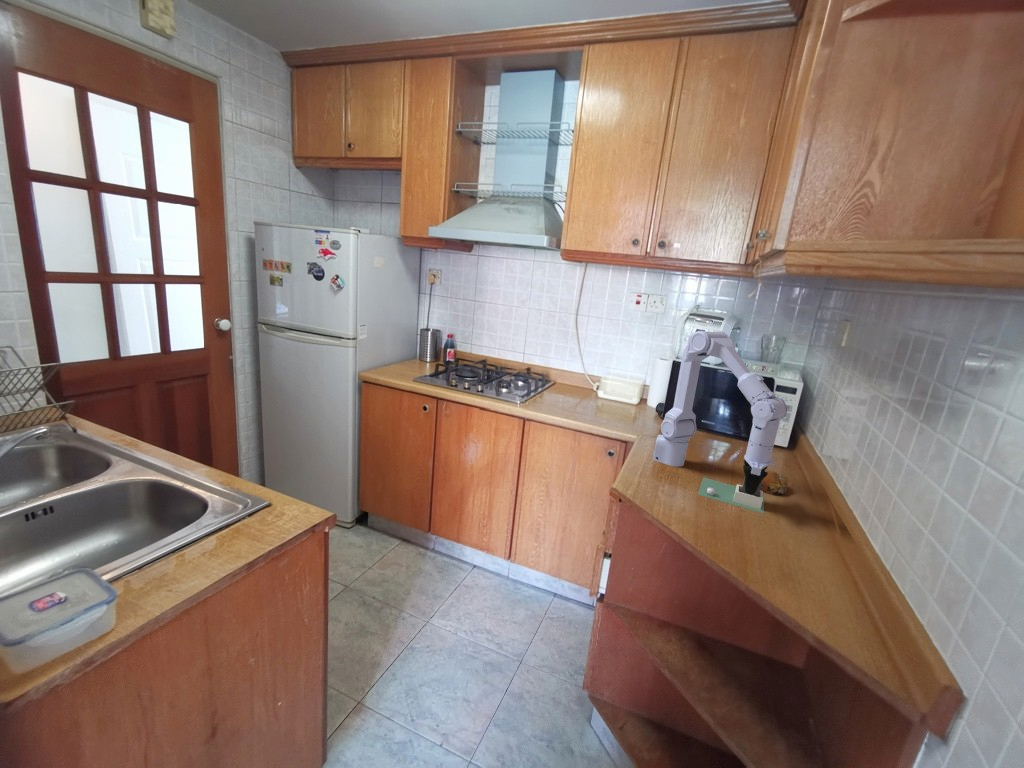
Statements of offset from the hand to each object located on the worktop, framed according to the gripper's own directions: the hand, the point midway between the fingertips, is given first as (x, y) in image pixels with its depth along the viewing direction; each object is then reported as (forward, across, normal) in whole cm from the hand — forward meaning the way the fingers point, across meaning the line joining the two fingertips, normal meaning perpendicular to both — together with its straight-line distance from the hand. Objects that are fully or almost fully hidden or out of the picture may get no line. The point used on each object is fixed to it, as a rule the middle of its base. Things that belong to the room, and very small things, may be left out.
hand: (749, 490), depth 119 cm
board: (+4, +2, +4) cm, 6 cm away
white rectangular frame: (+3, 0, 0) cm, 3 cm away
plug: (+1, 0, 0) cm, 1 cm away
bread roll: (+5, +14, -5) cm, 16 cm away
